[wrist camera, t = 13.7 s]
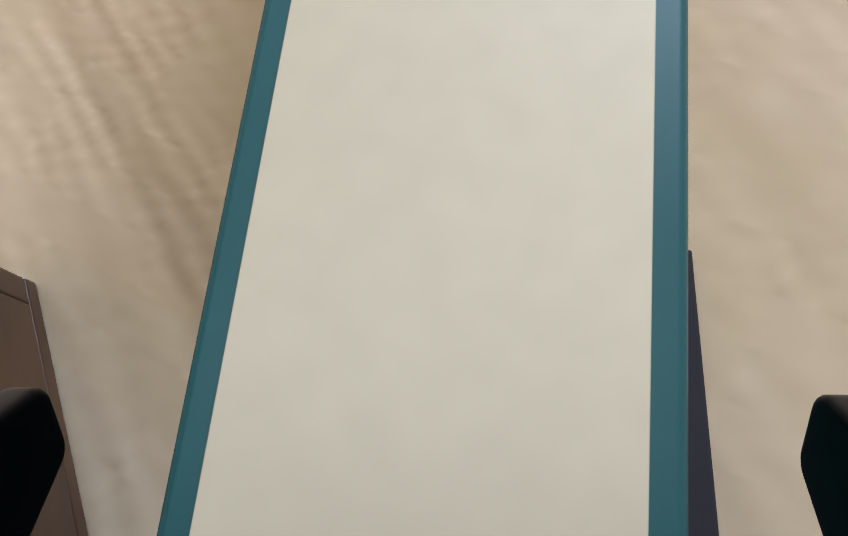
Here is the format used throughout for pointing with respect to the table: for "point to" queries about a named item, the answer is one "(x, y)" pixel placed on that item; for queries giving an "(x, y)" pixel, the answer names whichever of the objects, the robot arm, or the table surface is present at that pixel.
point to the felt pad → (698, 431)
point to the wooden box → (32, 367)
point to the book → (448, 278)
